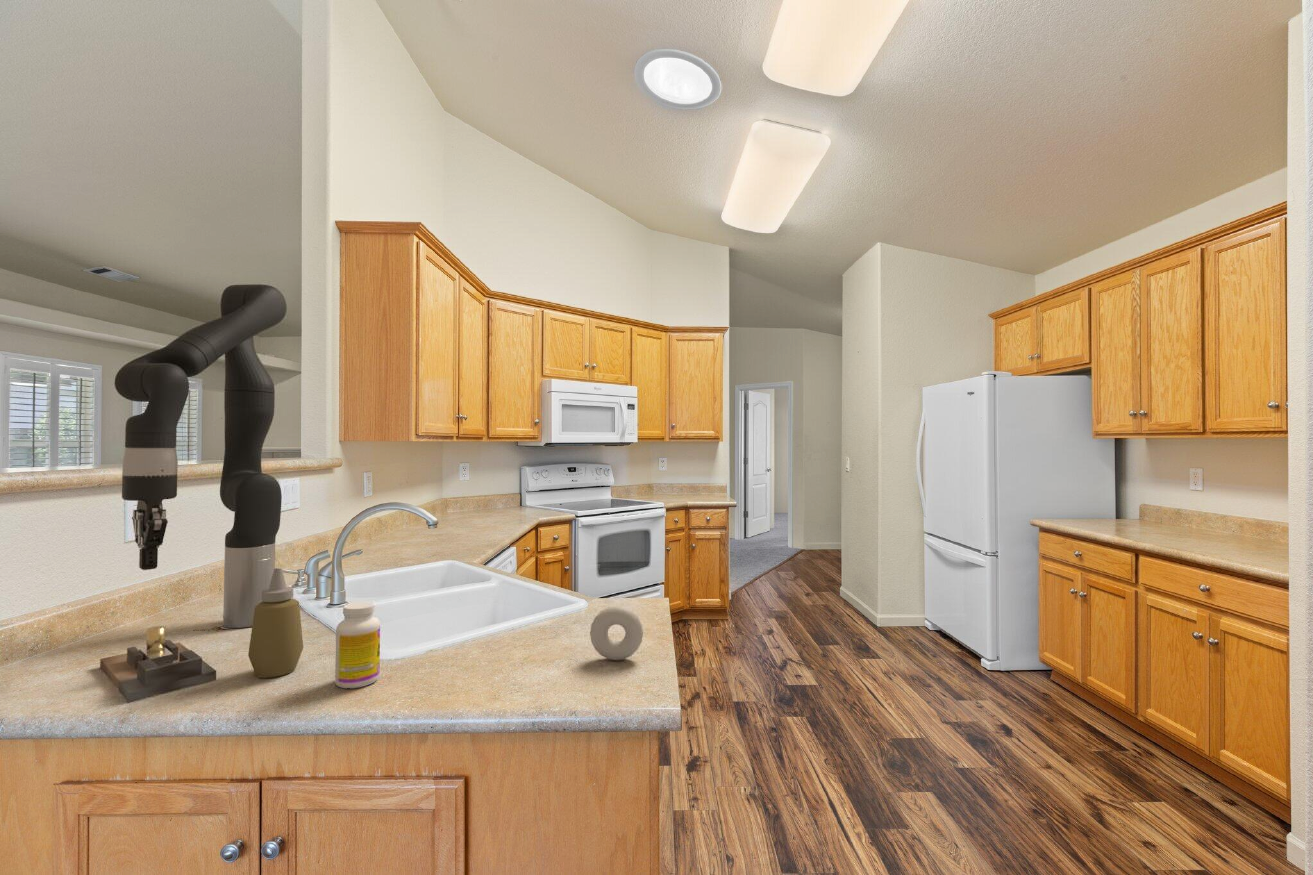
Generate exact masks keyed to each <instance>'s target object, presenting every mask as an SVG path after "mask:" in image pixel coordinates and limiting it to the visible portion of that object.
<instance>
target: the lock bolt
mask: <svg viewBox="0 0 1313 875" xmlns="http://www.w3.org/2000/svg"><path fill="white" fill-rule="evenodd" d="M165 640H166V626H165V625H158V626H157V625H156V626H151V627H148V628H146V646H143V647H140V648H138V650H139V651H140V652H141V653H142V654H143V660H148V659H151V660H152V661H153V662H154V663H155V664H156V665H157V666H158V667H159V666H163V665H168V664H172V663H173V653H171V652H170V651H169V650H168V649H166V648H165Z"/></svg>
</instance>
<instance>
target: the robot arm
mask: <svg viewBox="0 0 1313 875" xmlns="http://www.w3.org/2000/svg"><path fill="white" fill-rule="evenodd" d="M287 309H288V308H287V302H286V299H285V296H284V294H283V293H282V292H281V291H280V290H279V289H278V288H276V287H275V286H271V285H268V284H260V283H257V284H256V283H255V284H253V283H252V284H233V285H232V284H231V285H228V286H227V287H226V288H224V289H223V292H222V294H221V297H220V317H219V318H216V319H213V320H211V321H207V322H205V323H201V324H200V325H198V326H195V327H193V328H191V329H189V330H187V331H185V332H184V333H183V334H181V335H179V336H178V337H177V338H175V339H174V340H172V341H170V342H169V343H168V344H167V345H166V346H164V347H162V348H159V349H155V350H153V351H151V352H148V353H145V354H144V355H142V356H139V357H137V358H135V359H133V360H131V361H129V362H127V363H126V364H124V365H123V366H122V367H121V368H120V369H119V370H118V371H117V373H116V375H115V378H114V388H115V390H116V391H117V393H118V394H119V395H120V396H121V397H122V398H124V399H126V400H129V401H132V402H139V403H147V402H148V403H147V406H146V408H145V410H144V411H143V412H142V413H140V414H136V415H133V416H130V417H128V419H127V420H126V422H125V434H124V435H125V436H124V437H125V439H124V440H125V441H124V453H123V457H122V458H123V459H122V471H121V472H122V476H121V481H122V482H121V499H122V500H124V501H129V502H130V501H131V502H132V501H135V502H136V504H137V505H136V509H133V510H132V517H131V519H132V524H133V531H134V539H135V540H134V541H135V544H137V547H138V549H139V559H138V566H139V567H138V568H139V569H141V570H142V571H148V570H149V571H150V570H156V569H157V568H158V559H159V558H158V557H159V556H158V553H159V548H160V546H162V545H163V542H164V538H165V534H166V530H167V526H168V522H169V520H168V519H167V509H165V508H164V506H163V501H164V500H171V499H175V498H176V497H177V496H178V468H179V467H178V465H179V462H178V455H177V453H178V452H177V434H178V433H177V432H178V431H177V428H178V424H179V421H180V419H181V416H182V414H183V410H184V407H185V405H186V403H187V400H188V396H189V393H190V392H189V391H190V383H189V378H191V377H195V376H197V375H199V374H201V373H202V372H204V371H205V370H206V369H207V368H209V367H210V366H211V365H212V364H213V363H215V362H216V361H217V360H219V359H220V358H221V357H222V356H224V394H223V396H224V397H223V398H224V401H223V402H224V404H223V410H224V455H223V463H222V471H221V476H220V478H221V479H220V484H219V485H220V486H219V497H220V500H221V503H222V504H223V506H224V507H225V508H226V509H228V510H229V511H231V512H233V513H234V515H233V516H234V517H233V525H232V528H231V530H229V531H228V532H227V533H225V538H224V566H223V567H224V572H223V575H224V576H223V613H222V614H223V615H222V618H223V619H222V620H223V622H222V626H223V627H225V628H228V629H229V628H230V629H241V628H252V624H253V617H254V610H255V607H256V606H257V605H258V604H259V603H261V602H263V601H262V591H263V590H265V589H269V586H270V583H271V579H272V575H273V572H274V569H276V537H277V535H278V532H279V529H280V526H281V515H282V496H283V495H282V488H281V485H280V483H279V482H278V480H277V479H276V478H275V477H274V476H272V475H270V474H267V473H263V471H262V470H263V469H262V452H263V447H264V443H265V440H266V439H267V435H268V433H269V431H270V428H271V425H272V423H273V419H274V415H275V407H276V406H275V402H276V401H275V398H276V397H275V396H276V392H275V384H274V381H273V379H272V377H271V375H270V373H269V372H268V371H267V368H265V366H264V364H263V362H262V361H261V360H260V358H259V356H258V354H257V351H256V349H255V343H254V336H256V335H259V334H260V333H262V332H264V331H266V330H268V329H271V328H272V327H275V326H276V325H278V324H279V323H282V321H283V320H284V318H285V317H286V314H287Z"/></svg>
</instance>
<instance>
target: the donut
mask: <svg viewBox="0 0 1313 875" xmlns="http://www.w3.org/2000/svg"><path fill="white" fill-rule="evenodd" d="M616 625H619V626H621V627H622V628H623V630H624V631H625V632H624V633H625V634H624V636H623V638H622V639H621V640H618V641H614V640H613V639H612V638H610V636H609V630H610V628H611V627H613V626H616ZM589 637H590V643H591V644H592V646H593V648H594V650H595V651H596V653H598V654H599V655H600V656H601V657H602V658H605V659H607V660H612V661H621V660H622V661H623V660H626V659H627V658H629V657H632V656H633V655H634V654H635V653H636V652H637V651H638V649H639V648H640V646H641V645H642V642H643V638H644V630H643V624H642V622H641V620H640V618H639V617H638V615H637V614H636V613H635V612H634V611H633V610H631V609H630V608H628V607H625V606H620V605H615V606H608V607H606V608H604V609H602V610H601V611H600V612H598V614H597V615H596V616H595V617H594V618H593V620H592V623H591V625H590V631H589Z"/></svg>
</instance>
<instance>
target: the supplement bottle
mask: <svg viewBox="0 0 1313 875" xmlns="http://www.w3.org/2000/svg"><path fill="white" fill-rule="evenodd" d="M342 610H343V611H342V614H343V616H344V619H343V620H341V621H340V622H339V623H338V624H337V625H336V629H335V668H334V671H335V673H334V678H335V679H334V683H335V685H336V686H337V687H339V688H342V689H347V688H350V689H358V688H363V687H366V686H369V685H371V684H374V683H375V682H377V681H378V679H379V677H380V671H381V670H380V669H381V666H380V665H381V663H380V662H381V657H380V656H381V621H380V620H379V619H378V618H377V617H375V616H373V615H374V612H375V603H374V602H371V601H357V602H351V603H347V604H345V605H343V608H342Z"/></svg>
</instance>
